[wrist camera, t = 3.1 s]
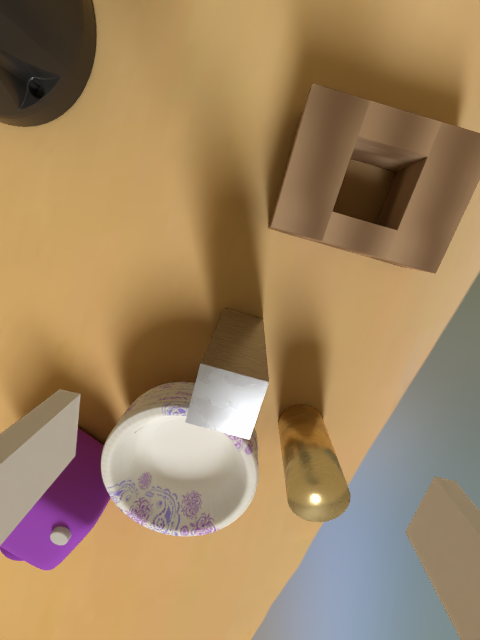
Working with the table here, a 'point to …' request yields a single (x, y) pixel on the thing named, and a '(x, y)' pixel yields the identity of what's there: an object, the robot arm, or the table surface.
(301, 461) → the cylinder
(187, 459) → the paper bowls
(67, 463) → the robot arm
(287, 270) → the table surface
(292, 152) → the bore block
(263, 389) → the square bit
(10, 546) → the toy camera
